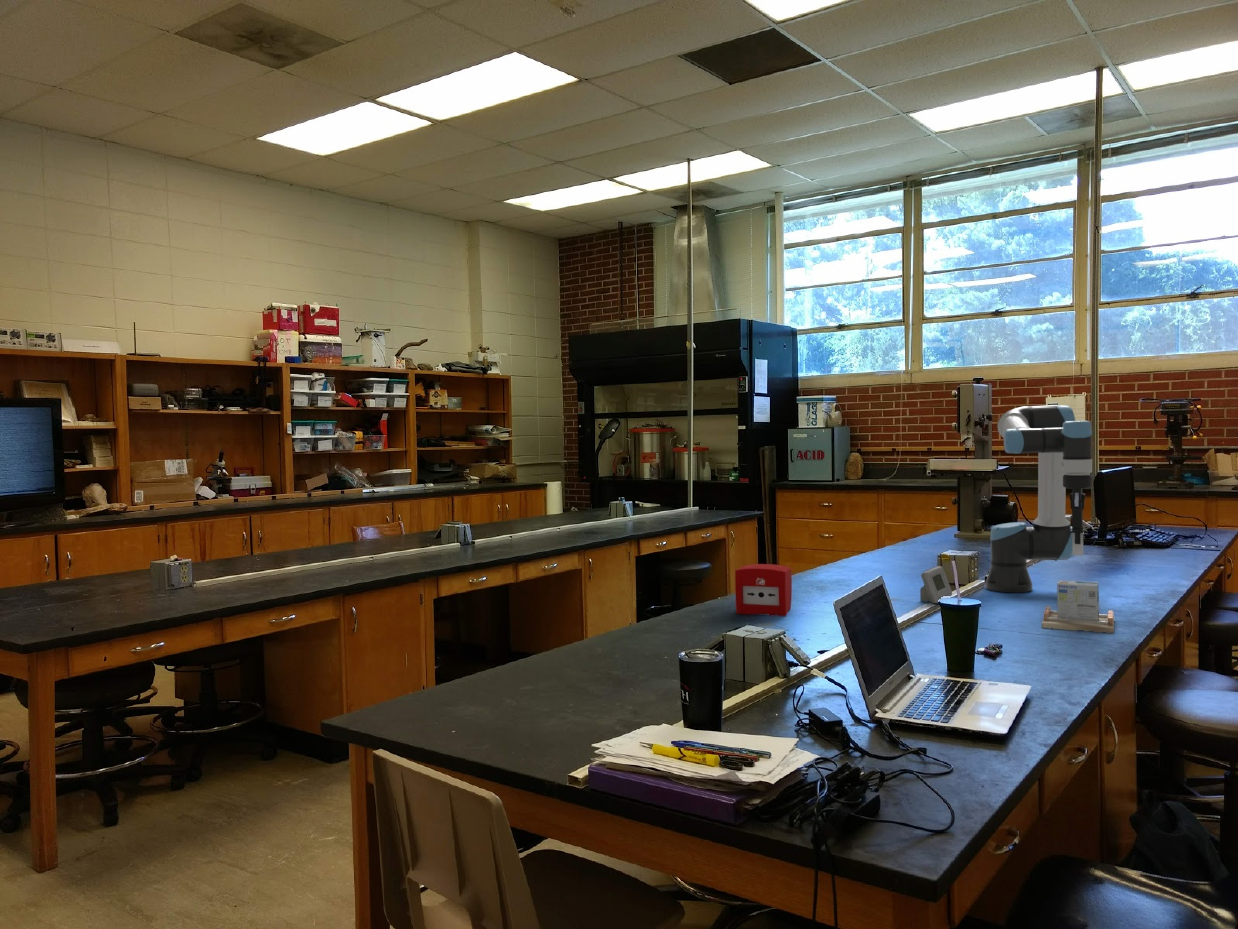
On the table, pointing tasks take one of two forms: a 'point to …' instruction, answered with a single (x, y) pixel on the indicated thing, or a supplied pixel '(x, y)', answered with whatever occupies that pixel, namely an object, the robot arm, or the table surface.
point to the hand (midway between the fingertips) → (1077, 554)
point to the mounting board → (1078, 625)
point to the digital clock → (934, 585)
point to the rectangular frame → (1048, 612)
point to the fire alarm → (763, 589)
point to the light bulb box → (1078, 600)
